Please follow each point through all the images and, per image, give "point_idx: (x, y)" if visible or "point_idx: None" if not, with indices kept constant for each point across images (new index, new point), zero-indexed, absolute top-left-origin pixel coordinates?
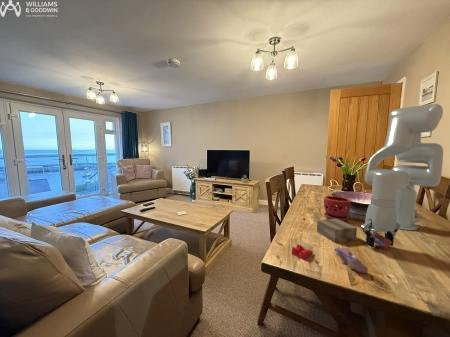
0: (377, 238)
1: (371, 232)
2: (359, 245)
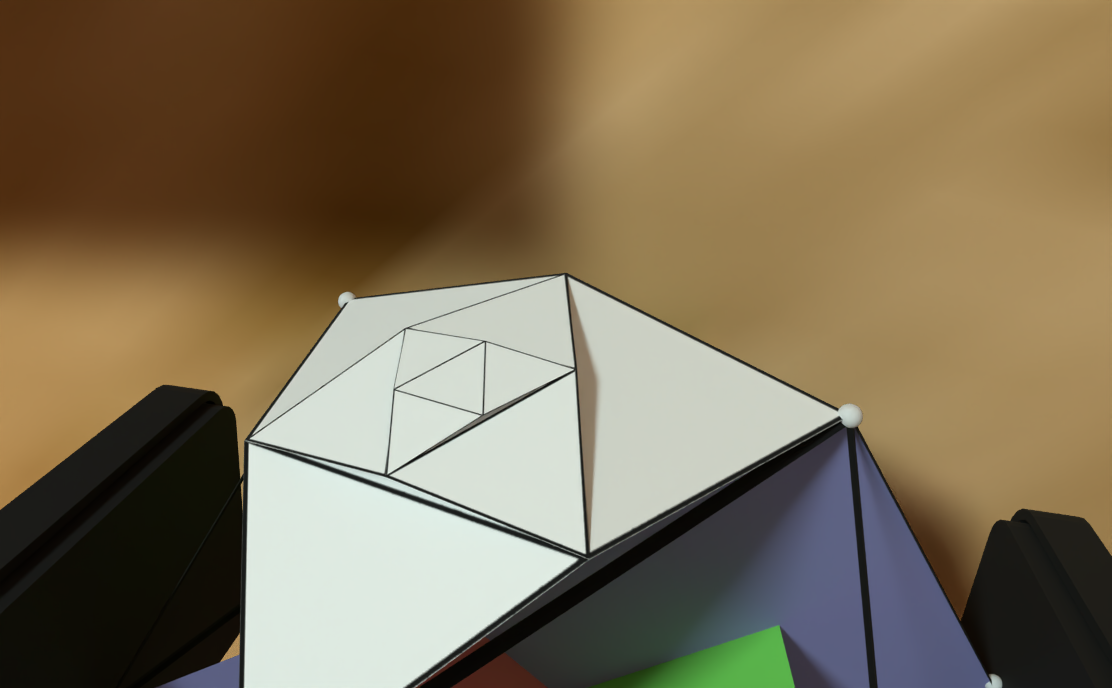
0: (506, 677)
1: (465, 479)
2: (83, 225)
